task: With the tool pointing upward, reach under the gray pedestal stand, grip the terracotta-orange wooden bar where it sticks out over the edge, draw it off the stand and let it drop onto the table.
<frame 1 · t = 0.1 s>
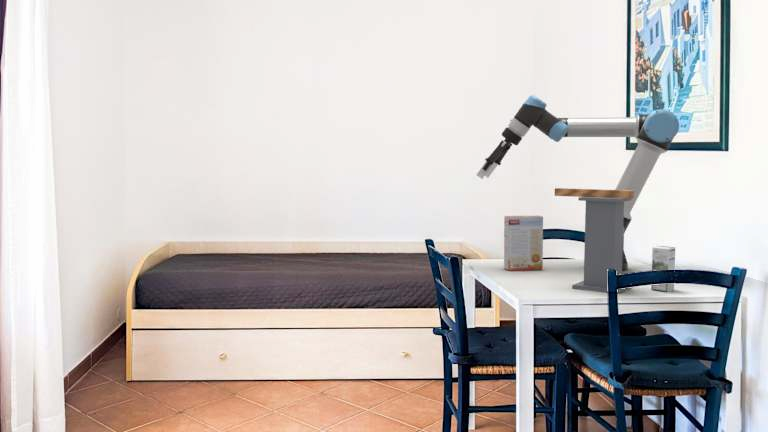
hand: (482, 176, 307), 36 cm above the table, tool tilted 35°, fingers open, 13 cm apart
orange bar: (593, 196, 264), point 30 cm above the table, touching gray pedestal stand
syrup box: (662, 290, 261), on the table
supplement bottle: (531, 261, 328), on the table
gray pedestal stand: (602, 287, 264), on the table
cracker box: (522, 270, 305), on the table
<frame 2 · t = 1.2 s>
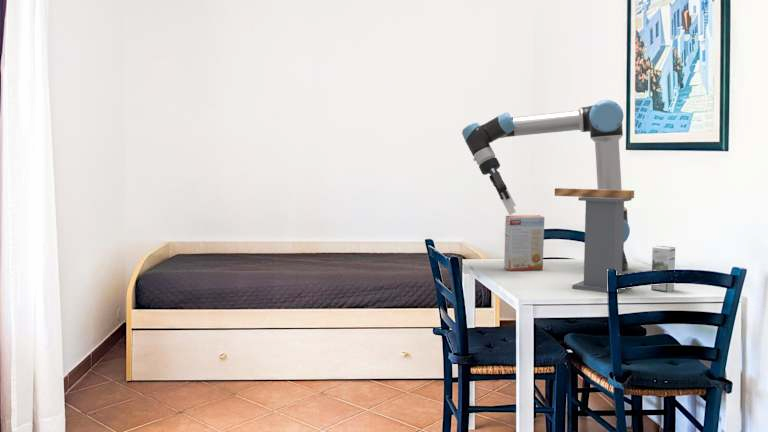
hand: (512, 210, 295), 24 cm above the table, tool tilted 30°, fingers open, 13 cm apart
cracker box: (522, 269, 305), on the table, touching gripper
everything else where it was.
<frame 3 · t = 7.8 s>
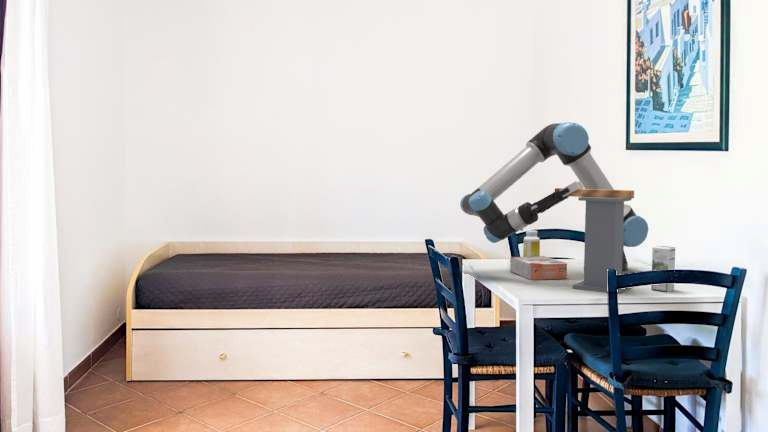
hand: (579, 184, 266), 35 cm above the table, tool pointing upward, fingers closed on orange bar, 3 cm apart
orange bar: (593, 196, 264), point 30 cm above the table, touching gripper, gray pedestal stand
cracker box: (526, 263, 301), point 3 cm above the table
everything else where it was.
when the fingers open (26 cm above the table, at t = 14.3 s): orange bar drops 20 cm and tips over, point 2 cm above the table.
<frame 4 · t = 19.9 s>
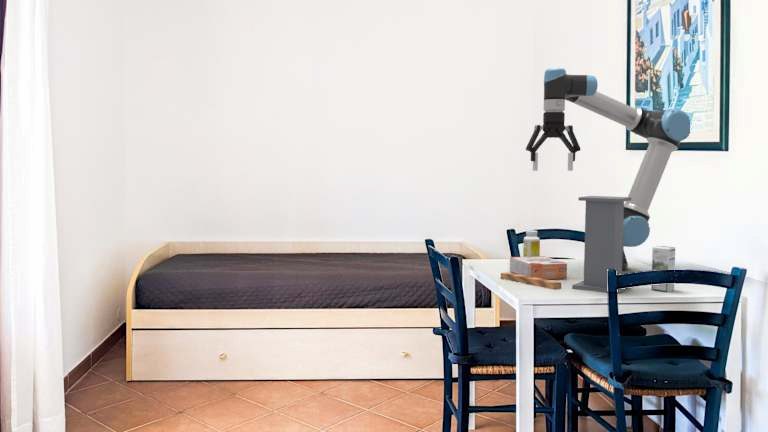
hand: (552, 170, 286), 39 cm above the table, tool pointing down, fingers open, 13 cm apart
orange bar: (529, 277, 273), point 2 cm above the table, tilted 180°
everything else where it was.
at the end: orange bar touching table; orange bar point 2.0 cm above the table; the gripper is holding nothing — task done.
